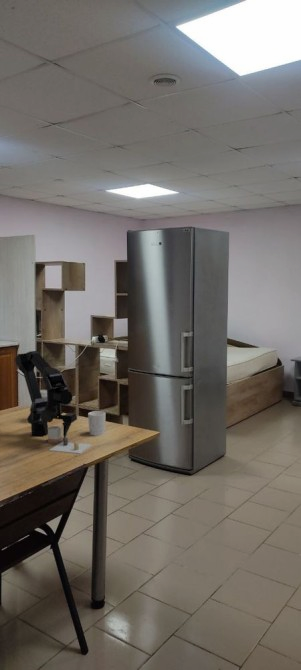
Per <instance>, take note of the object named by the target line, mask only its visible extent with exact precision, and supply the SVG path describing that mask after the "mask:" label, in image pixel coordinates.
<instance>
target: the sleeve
mask: <svg viewBox="0 0 301 670" xmlns="http://www.w3.org/2000/svg"><path fill="white" fill-rule="evenodd" d="M62 438H63V425H61V426H60V425H52V426H51V425H50V427H48V434H47V439H48V442H53V443H58V442H60V441H61V440H62Z"/></svg>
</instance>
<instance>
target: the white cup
mask: <svg viewBox="0 0 301 670" xmlns="http://www.w3.org/2000/svg"><path fill="white" fill-rule="evenodd" d="M106 414H107V413H106V411H101V410H95V411H94V410H93V411H90V412H88V414H87V418H88V419H87V420H88V428H89V429H88V430H89V434H90V436H94V437H98V436H104V435H105V434H106Z"/></svg>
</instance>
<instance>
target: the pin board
mask: <svg viewBox="0 0 301 670" xmlns="http://www.w3.org/2000/svg"><path fill="white" fill-rule="evenodd" d="M62 438H63V442H61V443H59V444H55V445H54V446H53V447H51V448H50V449H49V450H48V451H49V452H53V453H54V452H55V453H56V452H57V453H67V454H75V455H76V454H79V455H81V454H82V453H83V454H84V452H85V451H87V450H88V449H89V448H91V447H92V446H93V444H89V443H79V441H74V442H68V439H69V438H68V437H67V436H66V437H62Z"/></svg>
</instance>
